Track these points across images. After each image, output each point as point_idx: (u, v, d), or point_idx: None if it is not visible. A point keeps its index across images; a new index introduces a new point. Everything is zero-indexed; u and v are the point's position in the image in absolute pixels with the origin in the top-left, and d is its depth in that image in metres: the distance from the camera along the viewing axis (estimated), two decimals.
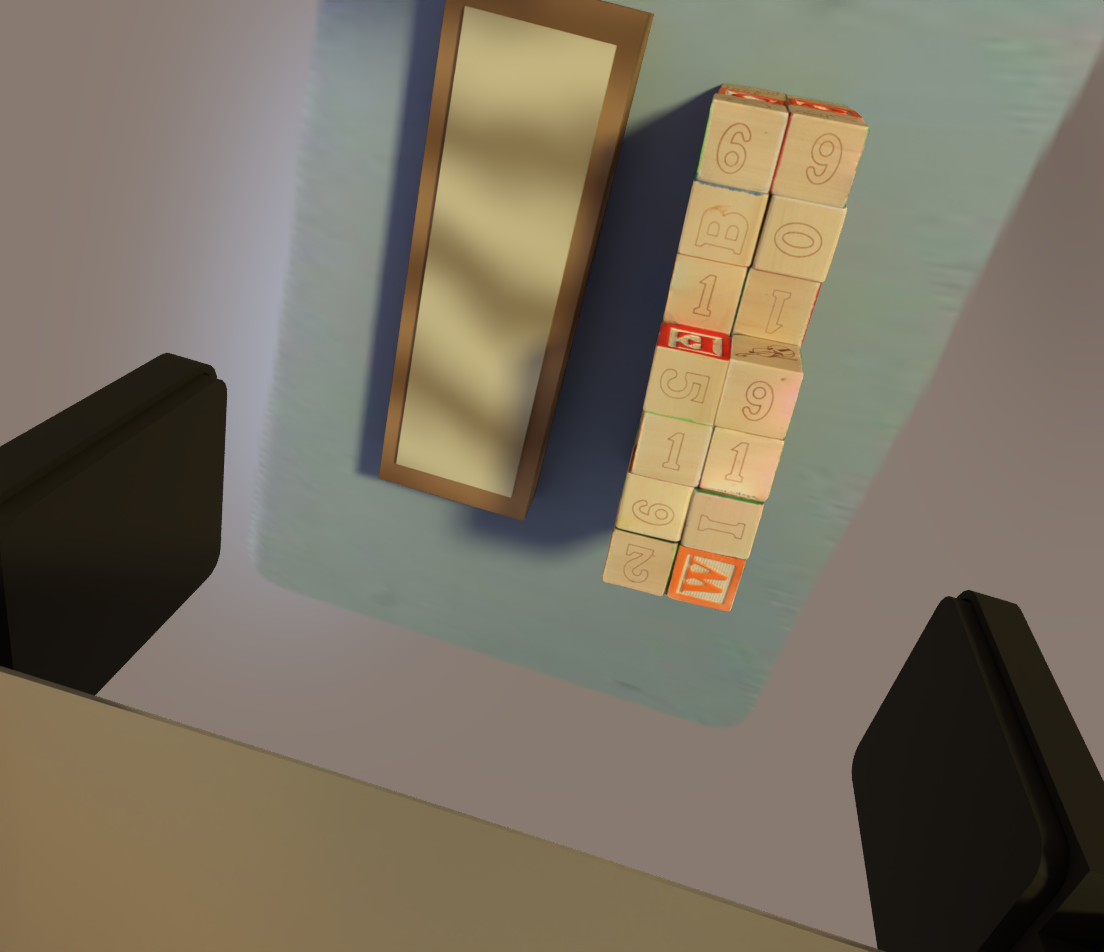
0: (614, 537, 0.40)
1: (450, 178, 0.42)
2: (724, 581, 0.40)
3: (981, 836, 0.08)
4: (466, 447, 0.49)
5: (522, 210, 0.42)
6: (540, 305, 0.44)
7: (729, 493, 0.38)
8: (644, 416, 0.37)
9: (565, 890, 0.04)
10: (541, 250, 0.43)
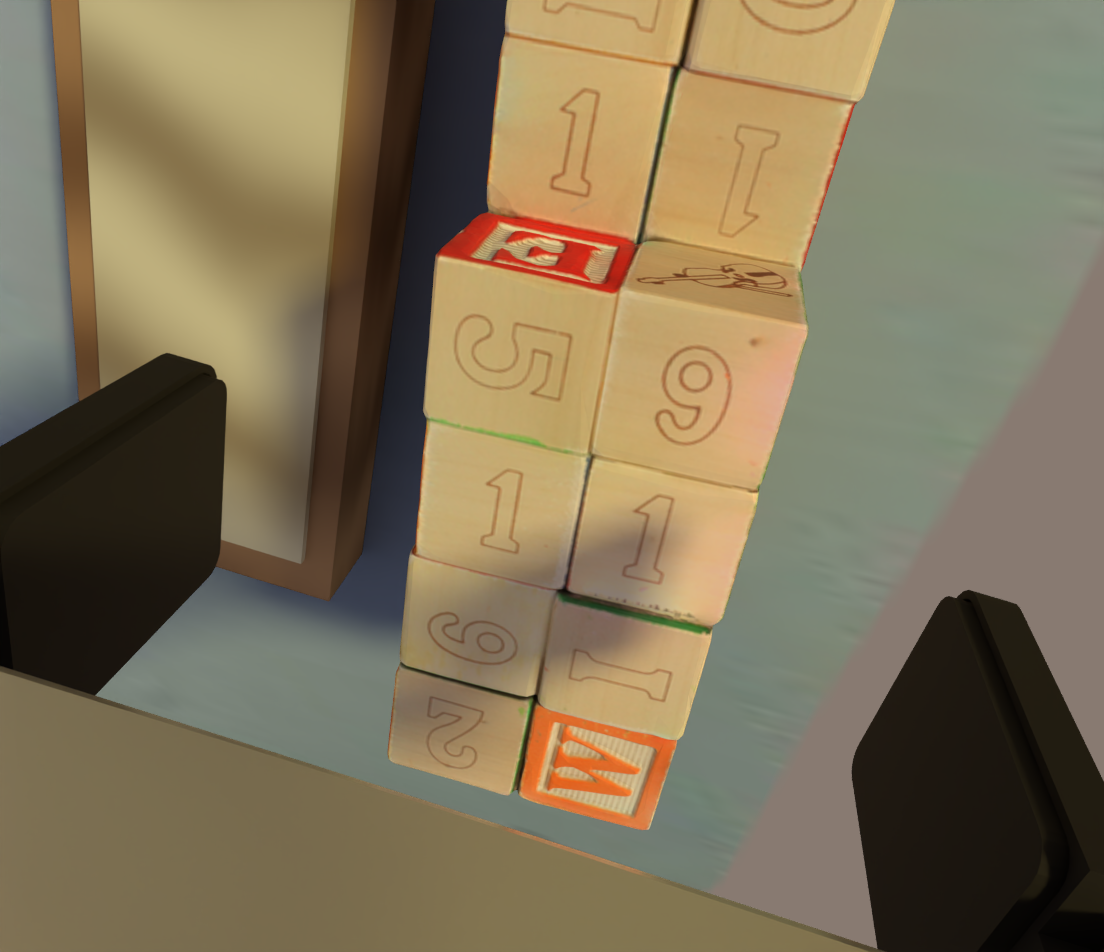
0: (400, 682, 0.19)
1: None
2: (634, 775, 0.19)
3: (981, 835, 0.08)
4: None
5: (243, 17, 0.21)
6: (303, 216, 0.23)
7: (634, 605, 0.16)
8: (428, 430, 0.15)
9: (564, 890, 0.04)
10: (290, 104, 0.22)
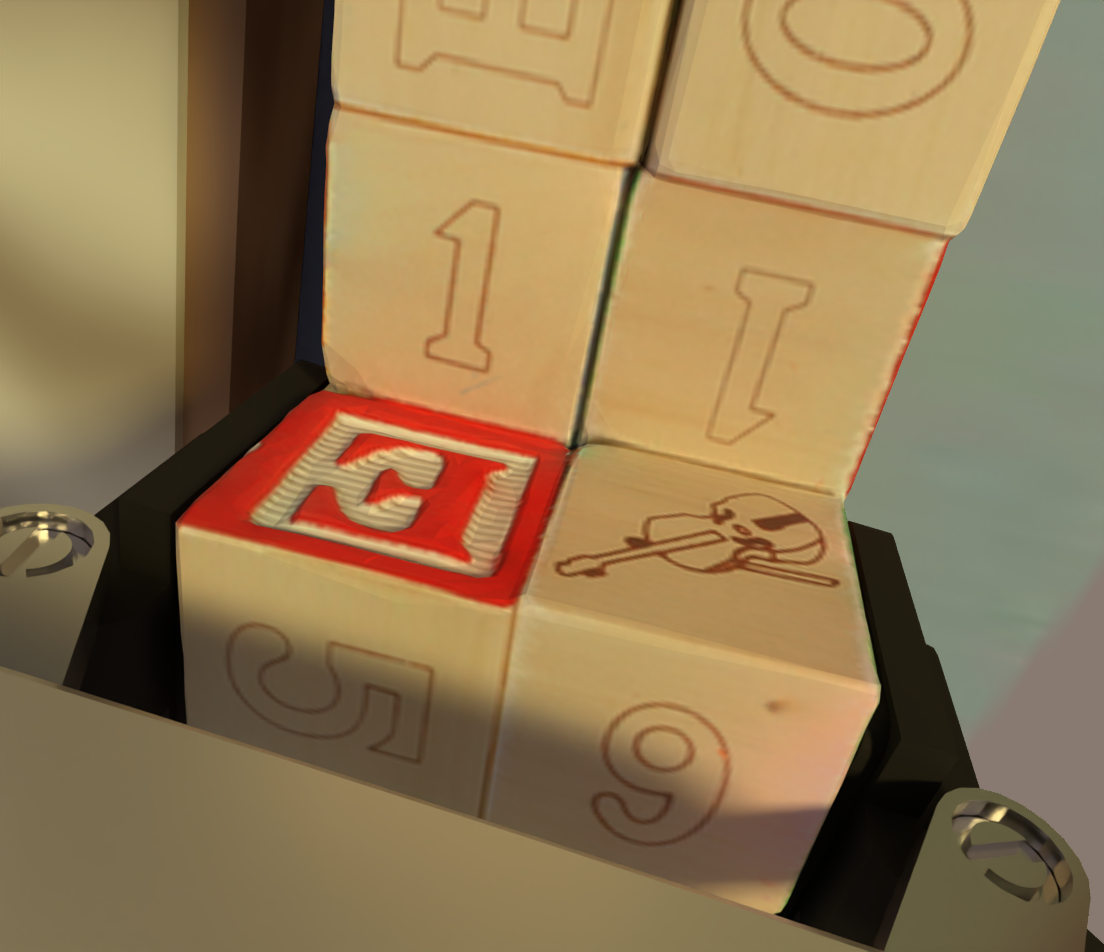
0: None
1: None
2: None
3: None
4: None
5: (34, 71, 0.15)
6: (139, 336, 0.17)
7: None
8: None
9: (565, 890, 0.04)
10: (108, 188, 0.16)
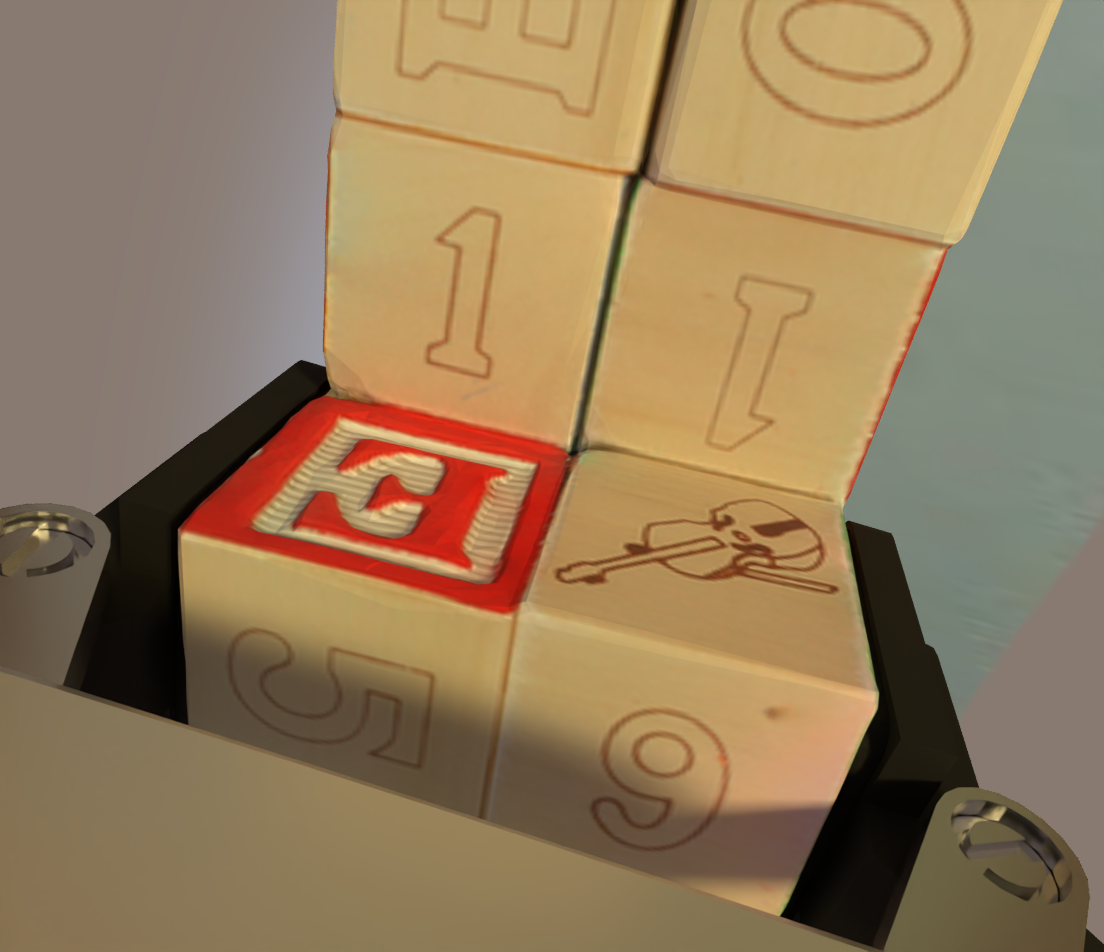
0: None
1: None
2: None
3: None
4: None
5: None
6: None
7: None
8: None
9: (565, 890, 0.04)
10: None
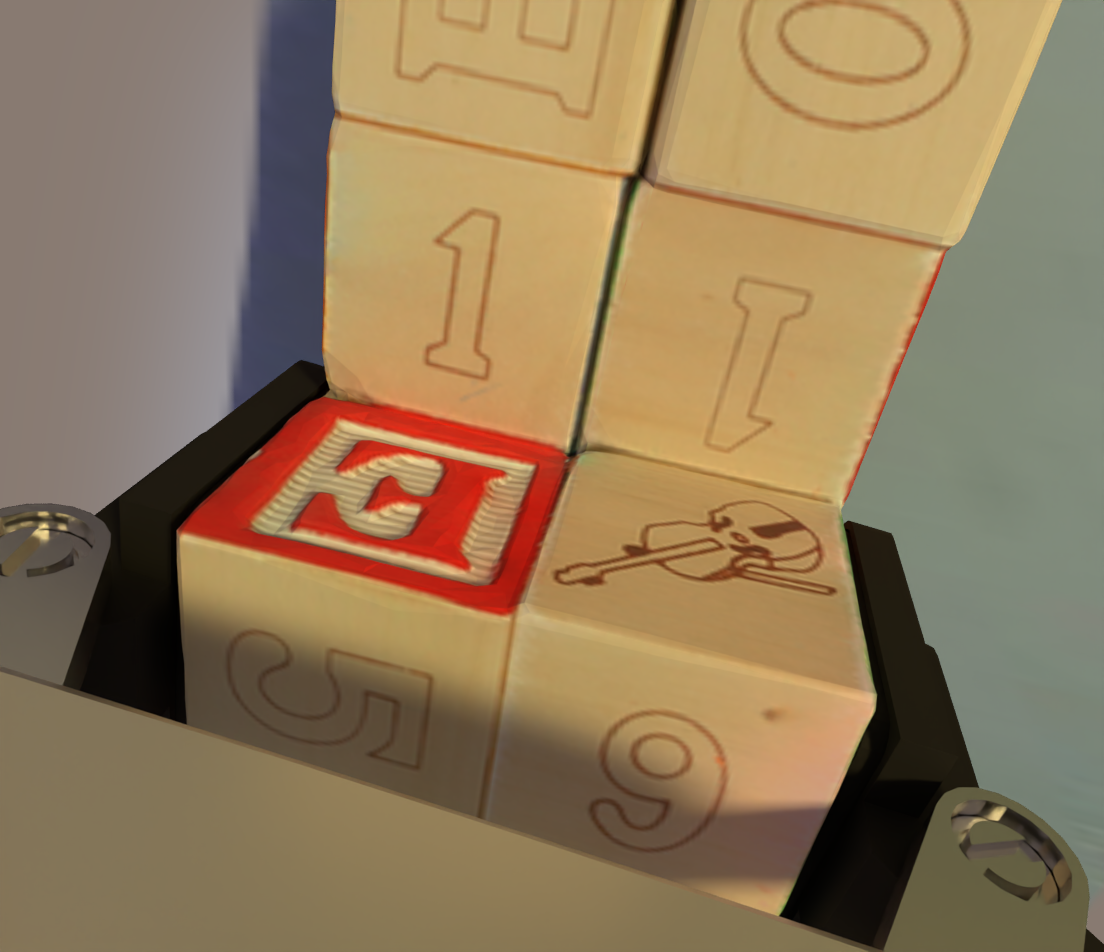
0: None
1: None
2: None
3: None
4: None
5: None
6: None
7: None
8: None
9: (565, 890, 0.04)
10: None
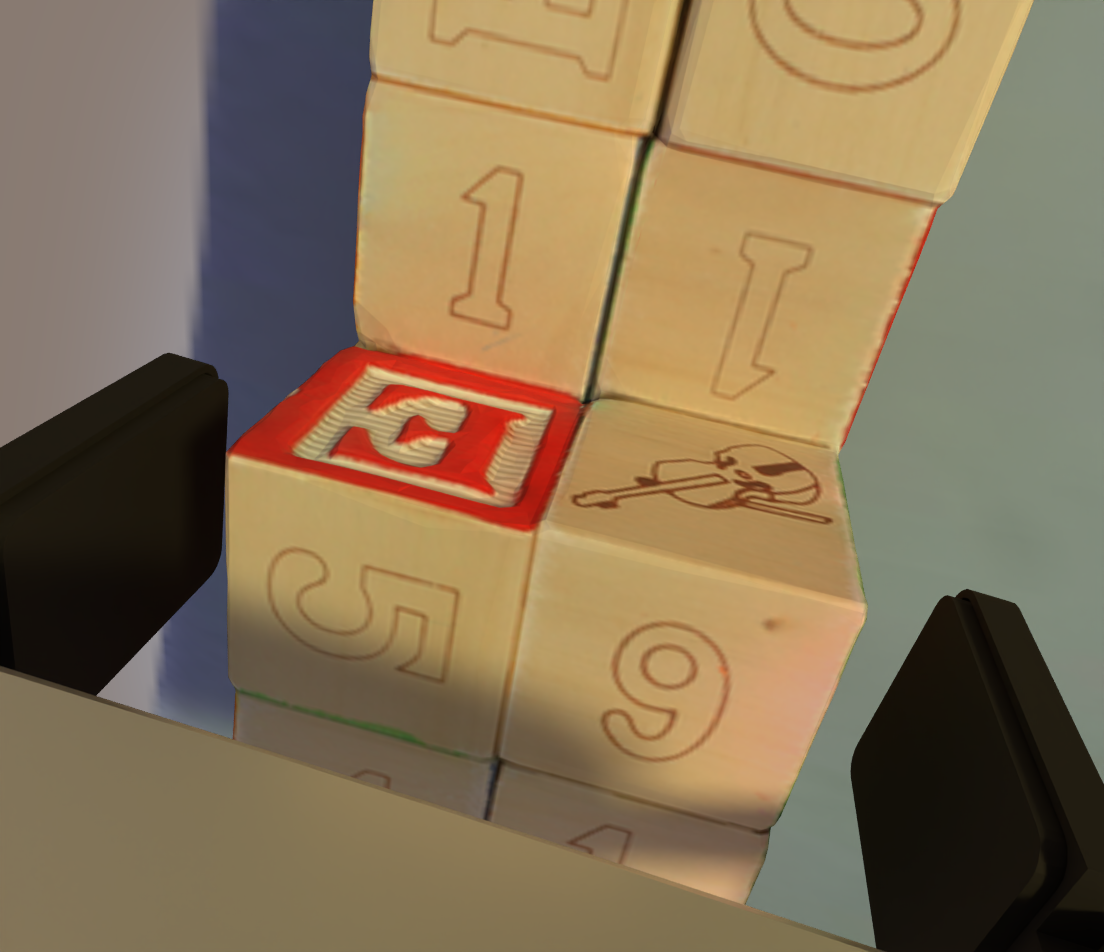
0: None
1: None
2: None
3: (980, 835, 0.08)
4: None
5: None
6: None
7: None
8: (238, 707, 0.10)
9: (565, 890, 0.04)
10: None
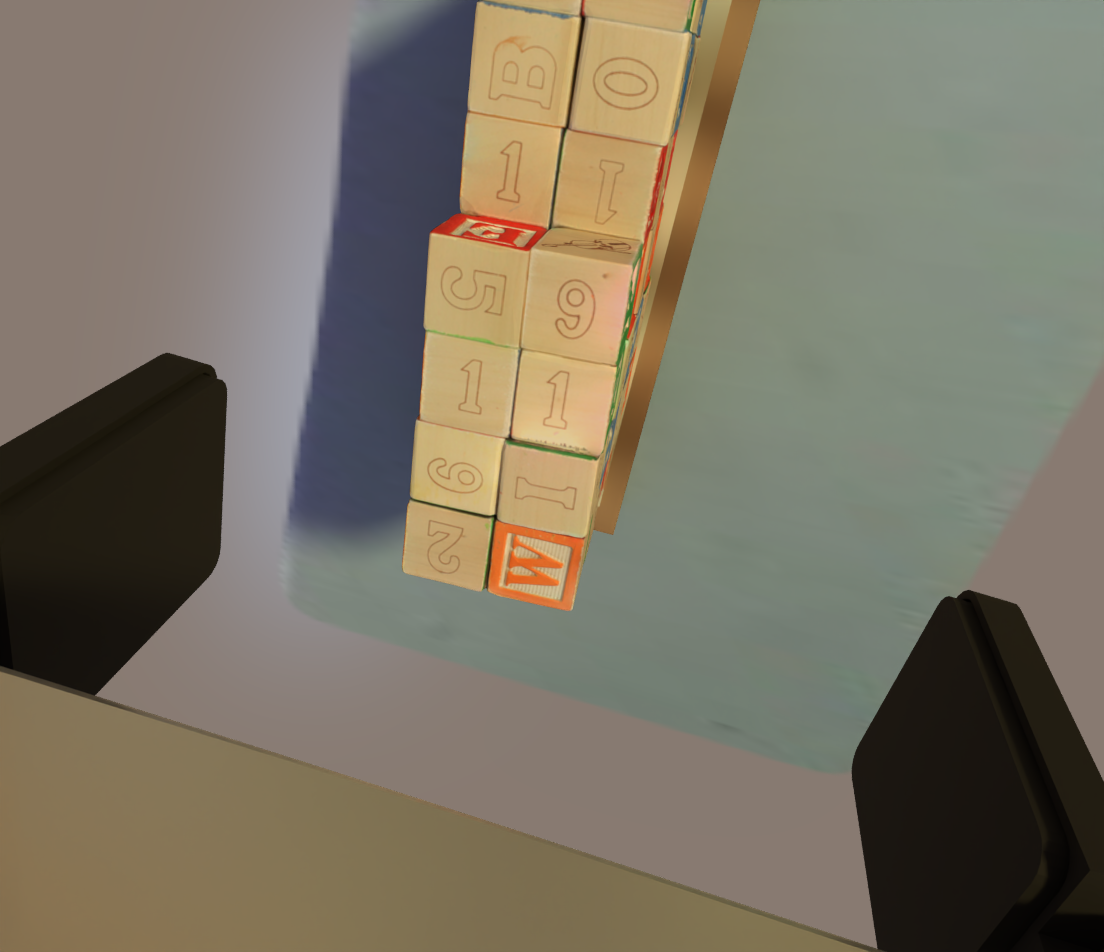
0: (410, 511, 0.29)
1: None
2: (560, 569, 0.30)
3: (981, 836, 0.08)
4: None
5: None
6: None
7: (551, 445, 0.27)
8: (426, 337, 0.26)
9: (565, 890, 0.04)
10: None
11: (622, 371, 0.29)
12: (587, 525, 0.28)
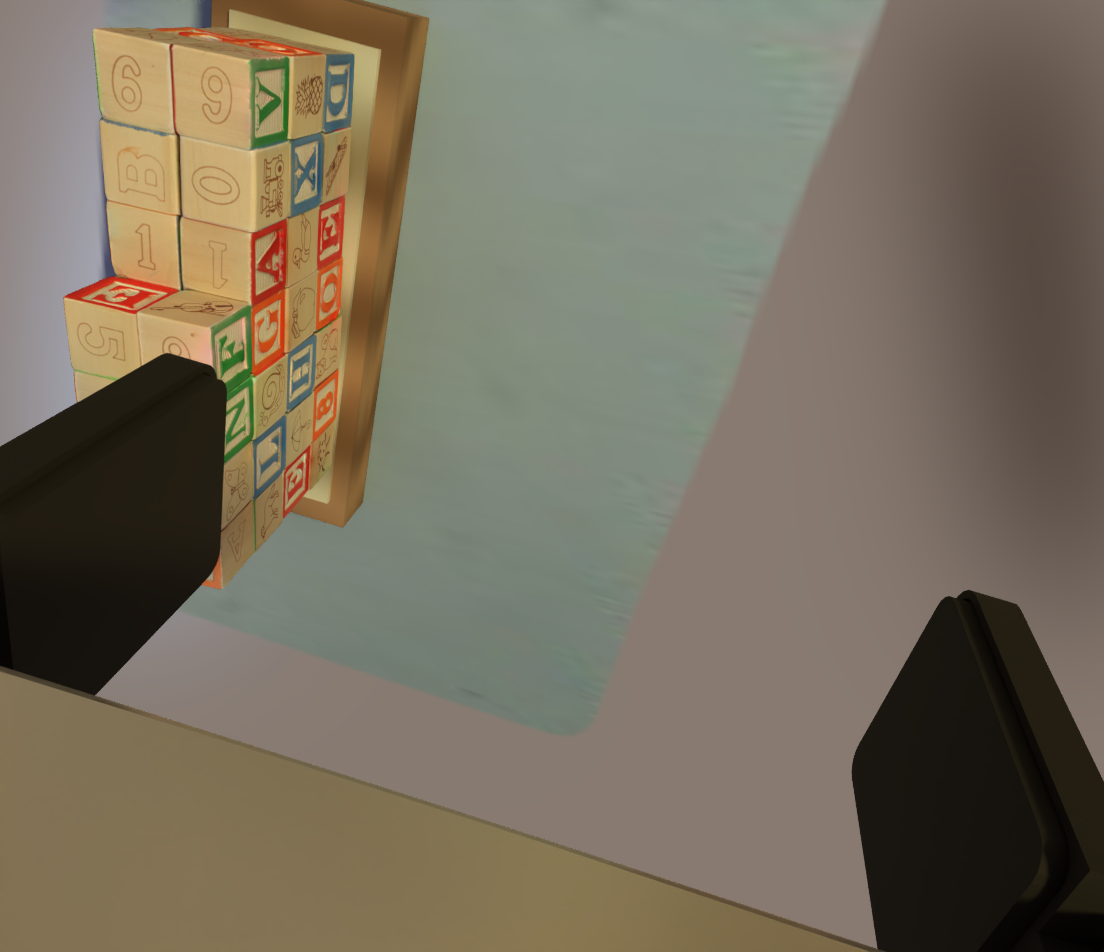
0: None
1: None
2: None
3: (980, 835, 0.08)
4: None
5: None
6: None
7: None
8: (74, 375, 0.34)
9: (564, 890, 0.04)
10: None
11: (255, 401, 0.37)
12: None
